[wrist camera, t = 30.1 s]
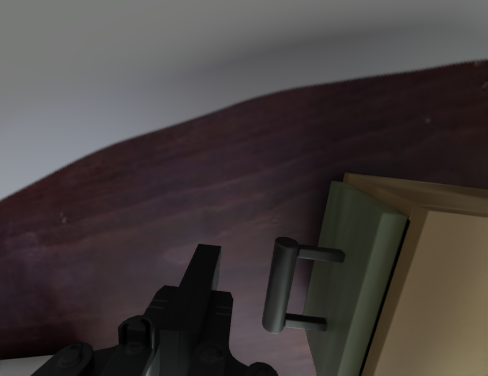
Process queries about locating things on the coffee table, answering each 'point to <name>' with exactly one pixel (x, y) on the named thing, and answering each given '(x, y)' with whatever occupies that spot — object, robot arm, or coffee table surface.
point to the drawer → (339, 279)
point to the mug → (22, 365)
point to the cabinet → (433, 281)
